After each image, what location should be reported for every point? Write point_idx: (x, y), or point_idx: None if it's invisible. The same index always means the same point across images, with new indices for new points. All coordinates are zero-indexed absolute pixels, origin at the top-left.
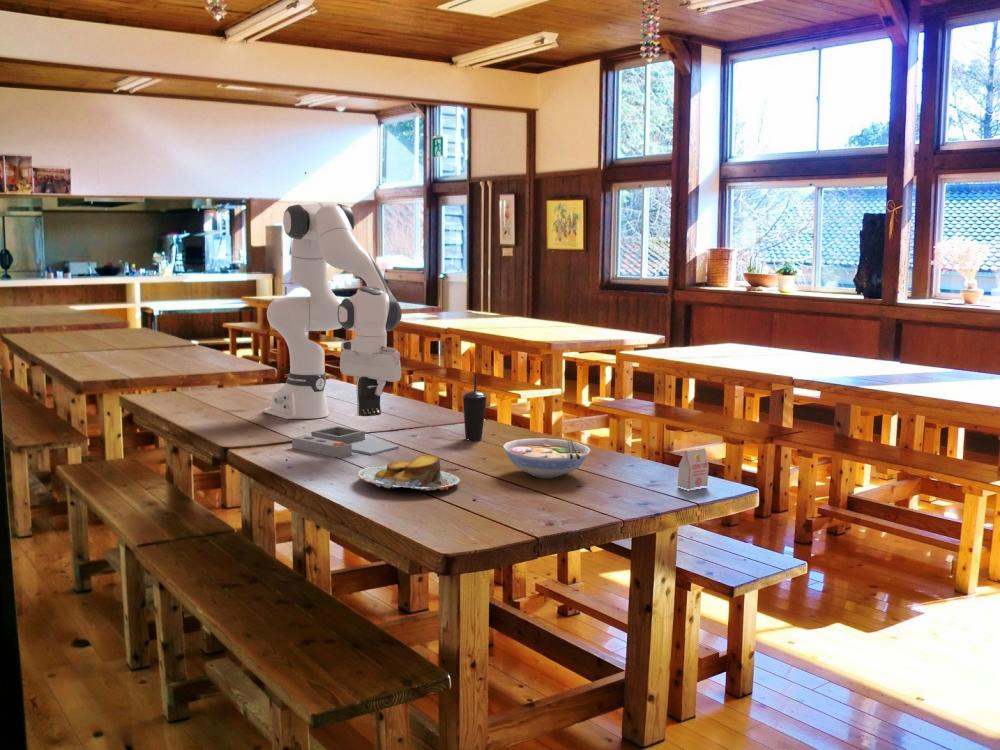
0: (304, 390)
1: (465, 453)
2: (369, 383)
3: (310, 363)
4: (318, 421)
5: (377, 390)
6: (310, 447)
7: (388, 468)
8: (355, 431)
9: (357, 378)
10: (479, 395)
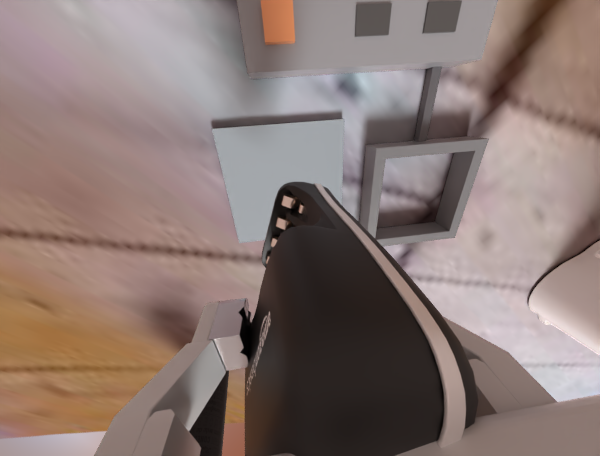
0: None
1: (111, 305)
2: (266, 366)
3: None
4: (529, 269)
5: (199, 332)
6: None
7: None
8: (389, 236)
9: (495, 382)
10: None
